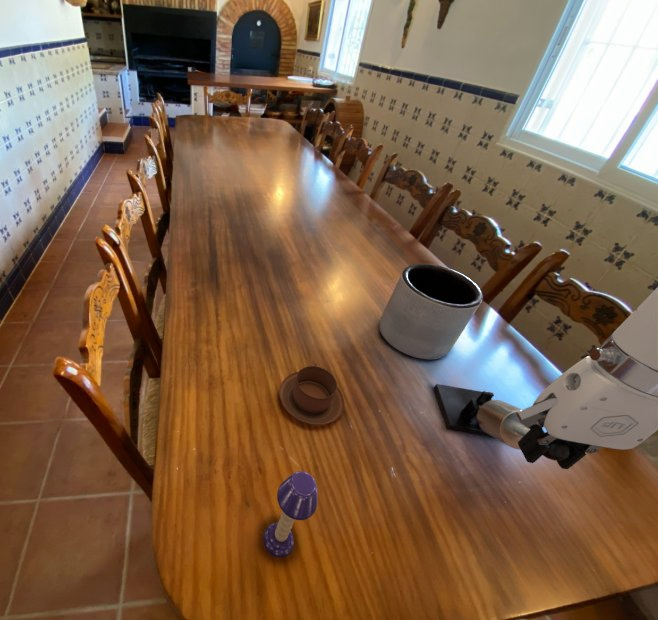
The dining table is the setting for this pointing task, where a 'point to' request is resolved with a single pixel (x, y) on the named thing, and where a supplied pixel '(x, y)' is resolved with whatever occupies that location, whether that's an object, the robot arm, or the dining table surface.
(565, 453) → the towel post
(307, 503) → the toy lamp
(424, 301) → the planter
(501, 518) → the dining table surface
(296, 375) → the cup and saucer
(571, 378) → the robot arm
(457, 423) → the dark grey lever base
